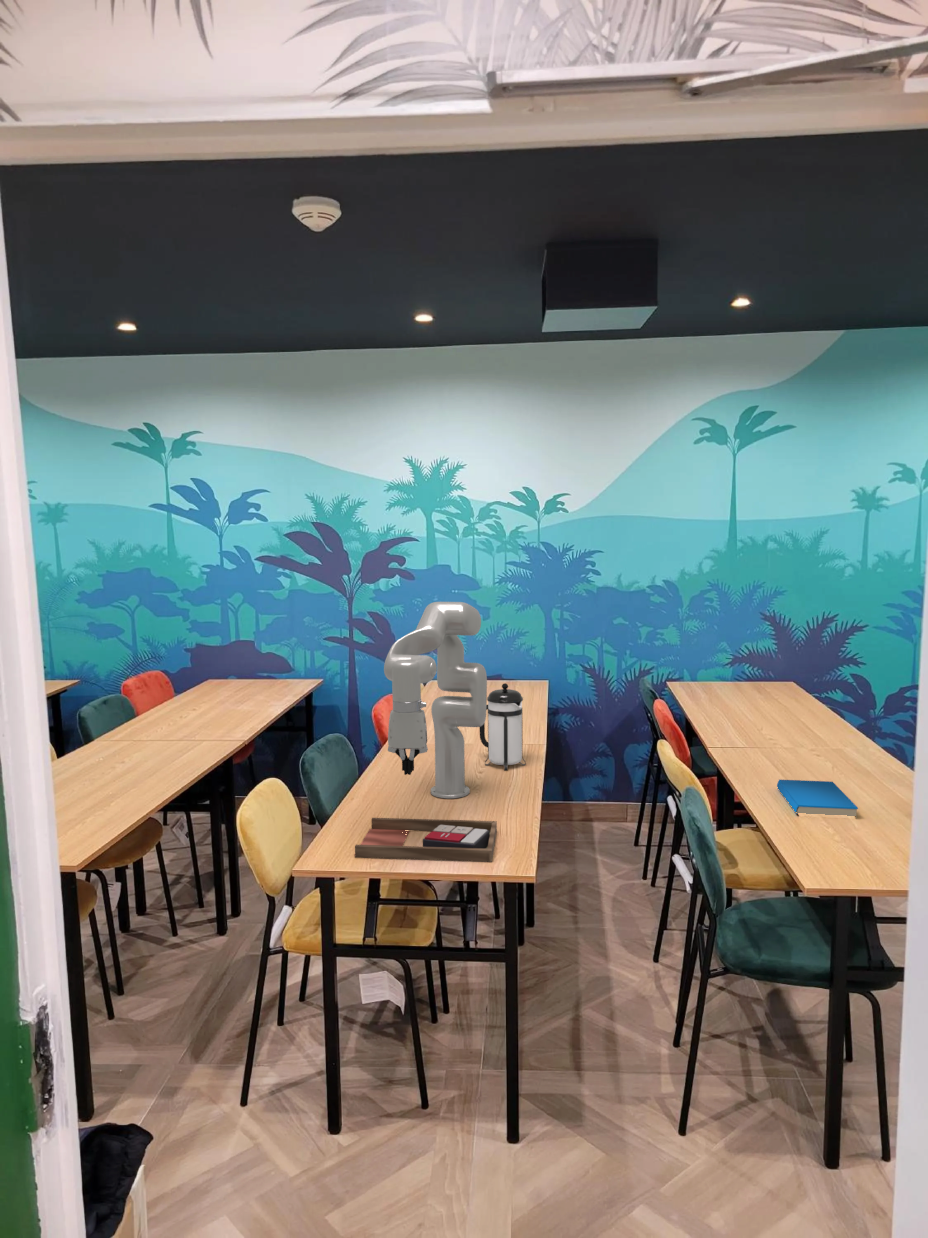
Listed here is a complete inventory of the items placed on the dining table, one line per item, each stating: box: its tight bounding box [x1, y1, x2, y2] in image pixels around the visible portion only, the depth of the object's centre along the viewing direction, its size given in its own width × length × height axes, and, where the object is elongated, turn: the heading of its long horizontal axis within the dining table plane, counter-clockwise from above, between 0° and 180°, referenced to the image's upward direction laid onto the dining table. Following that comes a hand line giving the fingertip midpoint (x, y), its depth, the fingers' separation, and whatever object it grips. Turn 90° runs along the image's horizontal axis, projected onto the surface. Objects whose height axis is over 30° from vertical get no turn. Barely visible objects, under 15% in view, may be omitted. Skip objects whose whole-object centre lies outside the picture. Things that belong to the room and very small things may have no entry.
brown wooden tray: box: [353, 817, 498, 863], centre depth 213 cm, size 21×36×3 cm, turn 84°
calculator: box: [422, 825, 490, 849], centre depth 210 cm, size 11×4×15 cm
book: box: [776, 779, 859, 817], centre depth 242 cm, size 17×4×25 cm
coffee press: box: [479, 683, 527, 772], centre depth 285 cm, size 17×16×30 cm
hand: (408, 773), depth 212 cm, fingers closed
